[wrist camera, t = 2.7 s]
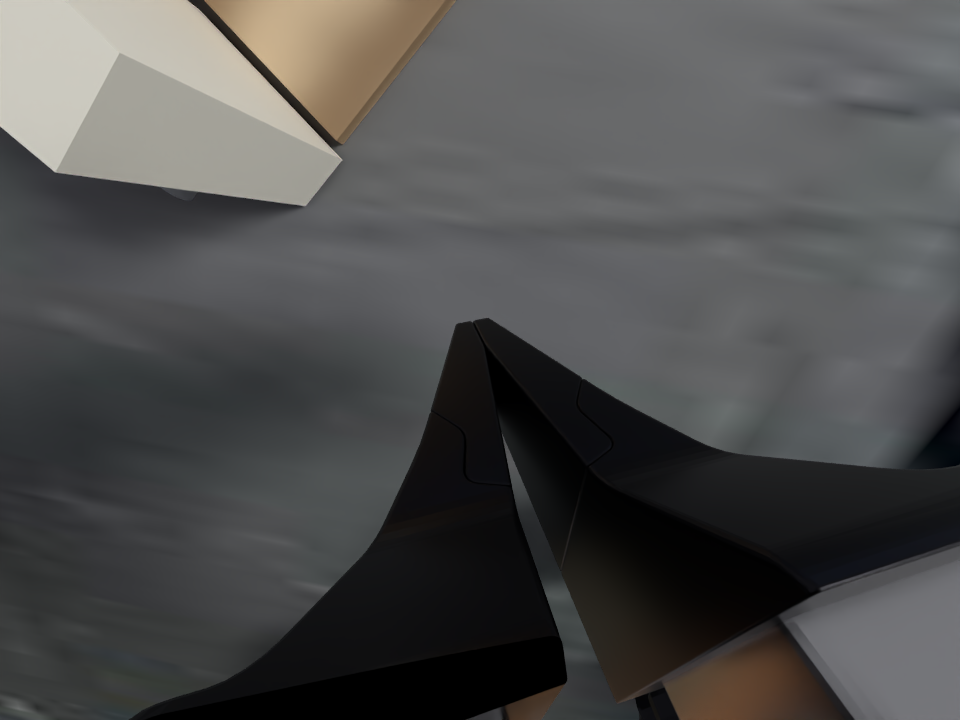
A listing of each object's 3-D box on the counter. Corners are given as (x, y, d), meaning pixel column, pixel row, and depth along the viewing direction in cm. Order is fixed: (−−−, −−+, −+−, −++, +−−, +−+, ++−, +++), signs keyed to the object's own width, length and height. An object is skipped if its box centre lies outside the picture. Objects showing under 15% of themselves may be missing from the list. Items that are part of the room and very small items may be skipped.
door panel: (342, 159, 17) (119, 53, 7) (291, 223, 18) (33, 214, 8) (198, 9, 15) (-407, -453, 5) (151, 89, 16) (-427, -152, 6)
